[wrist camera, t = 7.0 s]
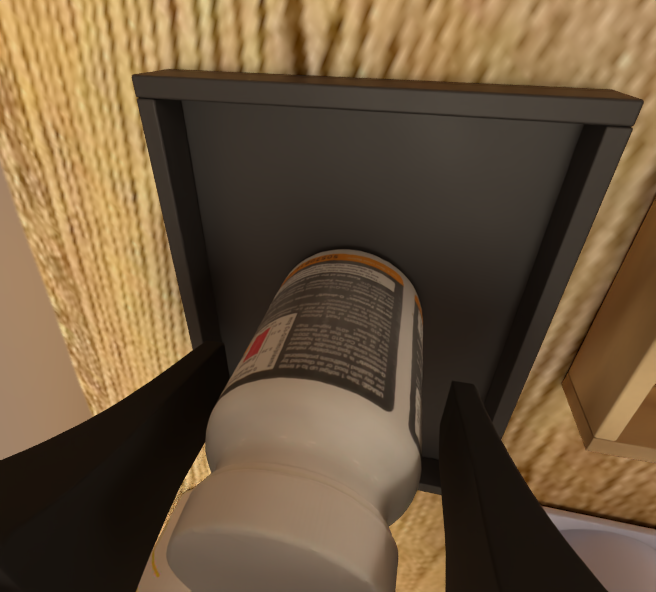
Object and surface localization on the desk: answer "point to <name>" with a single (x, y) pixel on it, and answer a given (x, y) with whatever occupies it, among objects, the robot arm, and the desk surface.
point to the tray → (385, 206)
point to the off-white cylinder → (163, 559)
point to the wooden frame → (621, 360)
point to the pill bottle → (313, 439)
